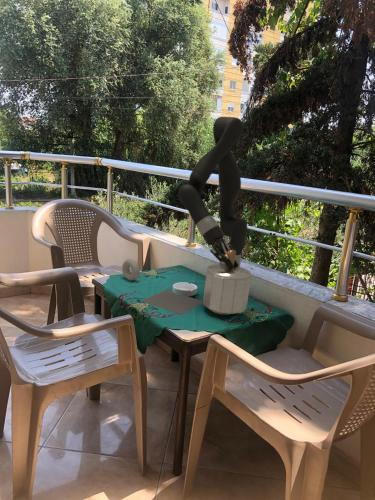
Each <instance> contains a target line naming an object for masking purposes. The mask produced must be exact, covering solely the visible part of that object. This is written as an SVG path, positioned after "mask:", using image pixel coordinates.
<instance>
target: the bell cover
mask: <svg viewBox="0 0 375 500" xmlns="http://www.w3.org/2000/svg"><path fill="white" fill-rule="evenodd" d="M235 255H236V250H233V249H228V250H227V256H228V258H229V259H230V261H231V262H232V264H233V265H234V262H235ZM229 259H228V260H229ZM251 281H252V272H251V271H250V270H249V269H246V268H244V267H241V266H240V267H237V268H233V269H232V270H229V269H228V267H227V266H226V264H220V263H218V264H210V265H209V266H207V268H206V275H205V282H204V291H203V299H202V301H203V303H202V305H204V306H205V307H206V308H207V309H208V310H210V311H211V310H214V311H217V312H221V313H230V314H229V315H231V314H232V315H234V314H239V313H244V311H246V310H247V307H248V301H249V294H250V287H251Z"/></svg>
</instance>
